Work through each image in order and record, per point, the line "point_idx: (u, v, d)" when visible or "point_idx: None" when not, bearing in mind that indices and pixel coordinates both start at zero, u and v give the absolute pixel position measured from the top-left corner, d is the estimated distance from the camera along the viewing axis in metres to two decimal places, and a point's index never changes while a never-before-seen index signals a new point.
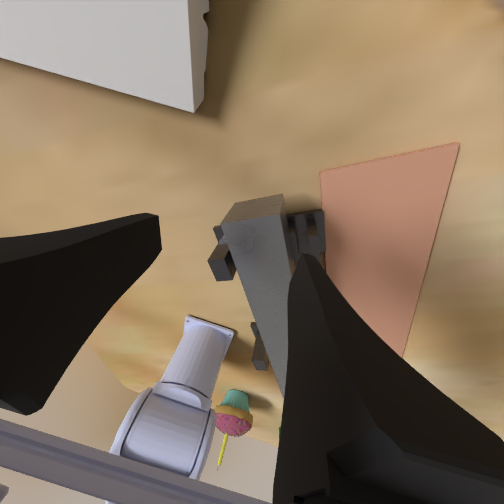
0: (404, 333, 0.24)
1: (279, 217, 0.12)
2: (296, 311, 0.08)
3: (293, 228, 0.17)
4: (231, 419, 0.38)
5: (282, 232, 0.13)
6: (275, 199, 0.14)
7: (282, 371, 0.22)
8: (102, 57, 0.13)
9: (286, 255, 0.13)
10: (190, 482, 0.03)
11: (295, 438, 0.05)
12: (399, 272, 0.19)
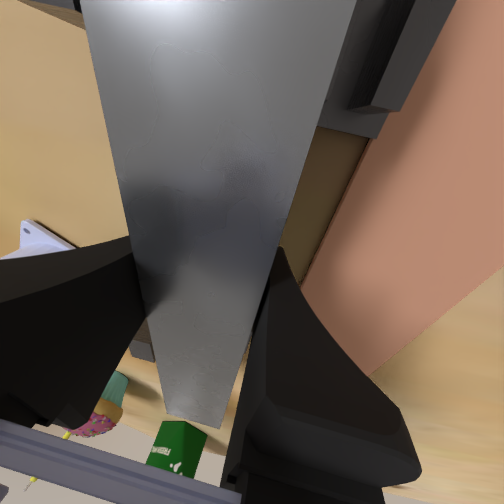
0: (388, 353, 0.16)
1: None
2: None
3: None
4: None
5: None
6: None
7: (176, 377, 0.10)
8: None
9: None
10: (190, 482, 0.03)
11: (238, 421, 0.05)
12: (470, 246, 0.10)
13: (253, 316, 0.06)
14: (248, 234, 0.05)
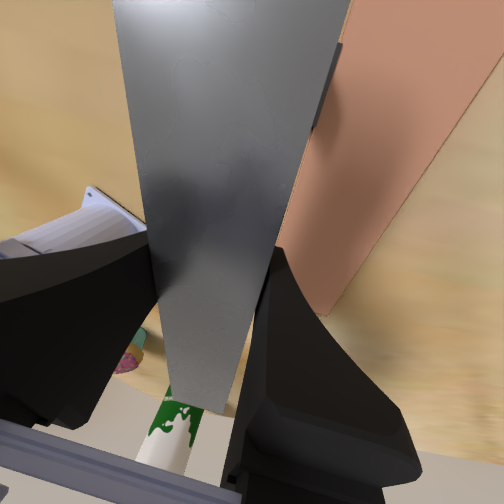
0: (344, 283, 0.22)
1: None
2: (259, 301, 0.08)
3: None
4: None
5: None
6: None
7: (182, 361, 0.11)
8: None
9: None
10: (190, 482, 0.03)
11: (238, 421, 0.05)
12: (379, 193, 0.16)
13: (256, 299, 0.07)
14: (253, 222, 0.05)
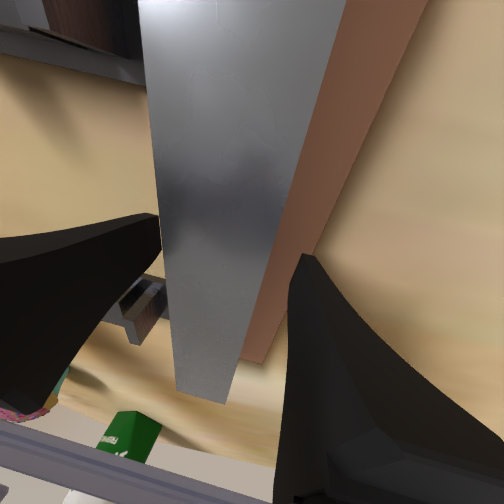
0: (272, 328, 0.15)
1: None
2: (296, 311, 0.08)
3: None
4: None
5: None
6: None
7: (188, 350, 0.12)
8: None
9: None
10: (190, 482, 0.03)
11: (295, 438, 0.05)
12: (287, 205, 0.10)
13: (259, 285, 0.08)
14: (256, 212, 0.06)
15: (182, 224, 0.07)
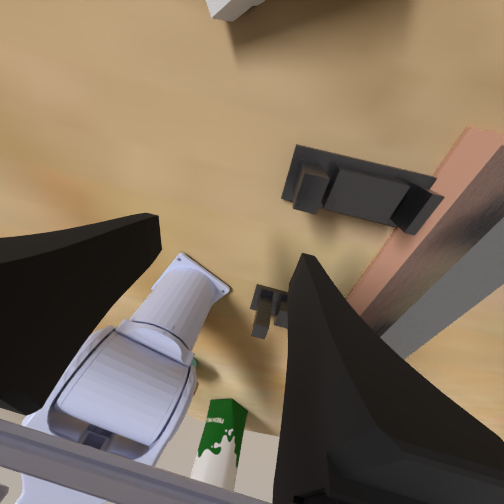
0: None
1: None
2: (296, 311, 0.08)
3: (403, 182, 0.14)
4: None
5: None
6: None
7: None
8: None
9: None
10: (190, 482, 0.03)
11: (295, 438, 0.05)
12: None
13: (454, 320, 0.17)
14: (475, 295, 0.15)
15: (434, 296, 0.16)
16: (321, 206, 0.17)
